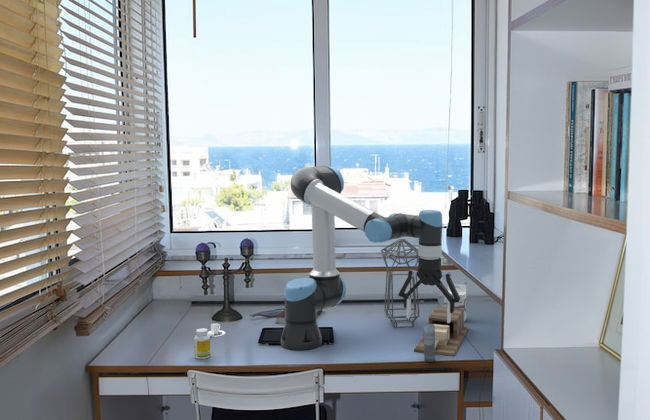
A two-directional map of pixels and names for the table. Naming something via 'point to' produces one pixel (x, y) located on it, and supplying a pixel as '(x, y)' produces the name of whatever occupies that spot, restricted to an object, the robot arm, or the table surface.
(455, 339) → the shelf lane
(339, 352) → the table surface
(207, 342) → the supplement bottle
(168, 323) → the table surface
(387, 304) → the geometric lantern
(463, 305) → the ink box
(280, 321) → the book
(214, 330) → the teacup and saucer
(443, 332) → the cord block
